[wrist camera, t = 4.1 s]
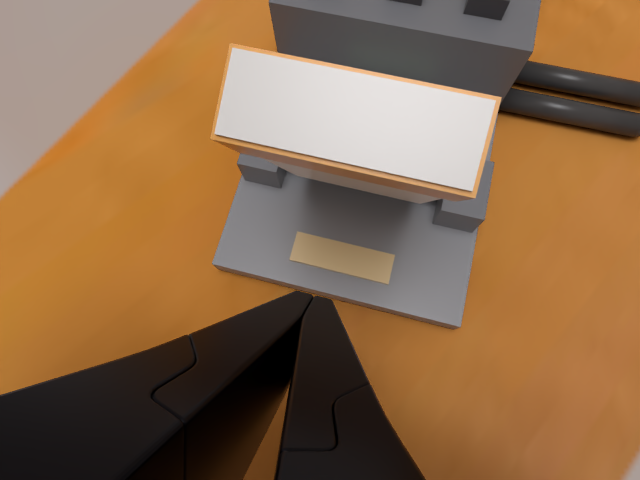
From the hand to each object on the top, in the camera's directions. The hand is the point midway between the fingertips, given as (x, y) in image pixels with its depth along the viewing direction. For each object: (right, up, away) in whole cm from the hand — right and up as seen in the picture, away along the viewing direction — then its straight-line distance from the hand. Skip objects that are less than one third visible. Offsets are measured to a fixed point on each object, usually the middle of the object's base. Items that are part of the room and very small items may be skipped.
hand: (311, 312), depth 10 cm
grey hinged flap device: (+6, +4, +10) cm, 12 cm away
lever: (+2, +4, +7) cm, 9 cm away
